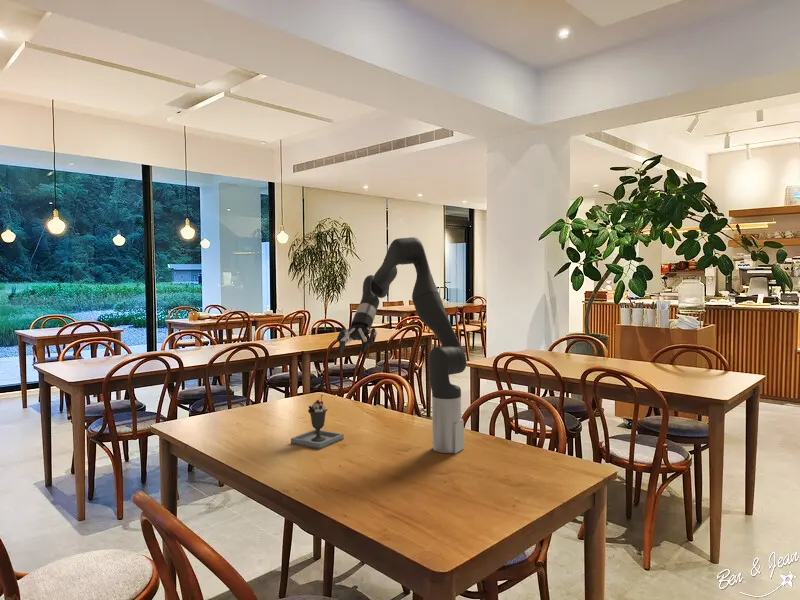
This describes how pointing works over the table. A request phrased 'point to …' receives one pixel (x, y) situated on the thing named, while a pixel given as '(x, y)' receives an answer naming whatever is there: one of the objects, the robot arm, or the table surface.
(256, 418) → the table surface
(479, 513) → the table surface
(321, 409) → the sundae
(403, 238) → the robot arm
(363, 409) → the table surface
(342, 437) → the tray
